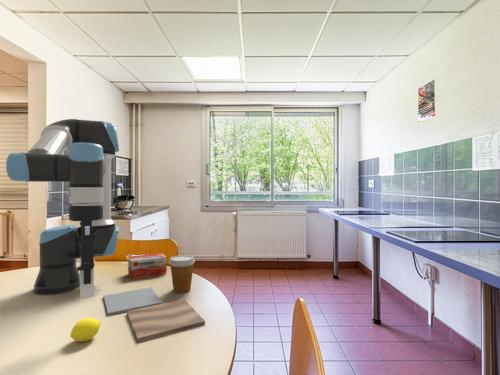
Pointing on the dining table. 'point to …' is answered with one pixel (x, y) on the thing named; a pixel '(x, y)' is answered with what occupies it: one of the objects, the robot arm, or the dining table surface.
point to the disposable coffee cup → (182, 272)
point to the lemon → (85, 329)
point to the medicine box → (147, 265)
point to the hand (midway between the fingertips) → (86, 288)
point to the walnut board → (163, 319)
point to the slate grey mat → (130, 300)
